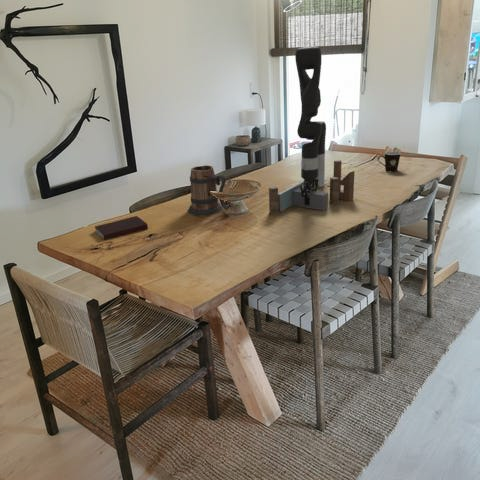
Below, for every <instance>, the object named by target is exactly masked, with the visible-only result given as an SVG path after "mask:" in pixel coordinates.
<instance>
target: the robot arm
mask: <svg viewBox="0 0 480 480" xmlns="http://www.w3.org/2000/svg"><path fill="white" fill-rule="evenodd" d="M294 59H295V64H296V65H295V66H296V70H297V77H298V82H299V92H300V95H299V96H300V103H301V114H300V120H299V123H298V127H297V136H298V137H299V138H300V139H306V140H308V141H309V142H305V143H303V144H302V146H301V160H300V161H301V162H300V177H301V178H302V179H303V181H304V184H303V185H301V186H300V188H301V195H302V197H304V204H305V205H309V196H310V193H311V190H312V191H318V188H322V187H324V186H325V174H326V173H325V171H326V169H325V168H326V166H325V165H326V163H325V162H326V137H327V136H326V135H327V125H326V122H325V121H320V120H319V121H315V120H313V121H311V120H312V118H314V117H317V116H318V113H319V107H320V106H321V101H322V96H321V89H320V81H321V79H320V78H321V71H322V51H321V48H320V46H317V45H316V46H306V47H300V48H299V47H298V48H296V51H295V58H294ZM308 70H313V72H312V73H313V74H312V76H311V77H310V76H309V74H308V73H307V71H308ZM307 190H309V191H307ZM307 192H308V194H307Z"/></svg>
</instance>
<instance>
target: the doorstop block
mask: <svg viewBox="0 0 480 480" xmlns="http://www.w3.org/2000/svg"><path fill="white" fill-rule="evenodd" d="M307 191H309V190H307ZM307 194H308V192H307ZM328 202H329V193H328V192H325V191H318V190H317V191H312V190H311V193H310V196H309V205H305V204H304V197H302V195H301V189H297V188H296V189H295V190H293V191H292V205H291V206H294V207H301V208H306V209H314V210H317V211H318V210H320V211H324V210H326V209H327V208H328V207H329V206H328V205H329V203H328Z"/></svg>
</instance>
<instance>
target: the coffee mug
mask: <svg viewBox="0 0 480 480" xmlns="http://www.w3.org/2000/svg"><path fill="white" fill-rule="evenodd" d="M401 155H402V153H401V152H399V151H386V152H384V155H379V156H378V157H377V161H378V162H379V164H381V165H383V166H384V169H385V172H387V171H391V172H390V173H394V172H393V171H396V172H398V169H399V163H400V158H401ZM381 157H382V158H383V159H384V163H382V162H381V161H380V158H381Z"/></svg>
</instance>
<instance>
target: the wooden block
mask: <svg viewBox="0 0 480 480" xmlns="http://www.w3.org/2000/svg"><path fill="white" fill-rule="evenodd" d="M342 165H343V164H342V160H341V159H335V160H333V176H332V177H337V178H339V200H343V201H345V202H351V201H353V200H354V192H355V188H354V187H355V170H353V171H349V173H347V174H346V176H344V177H343V178H342ZM342 186H343V187H342ZM342 188H343V189H342Z"/></svg>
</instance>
